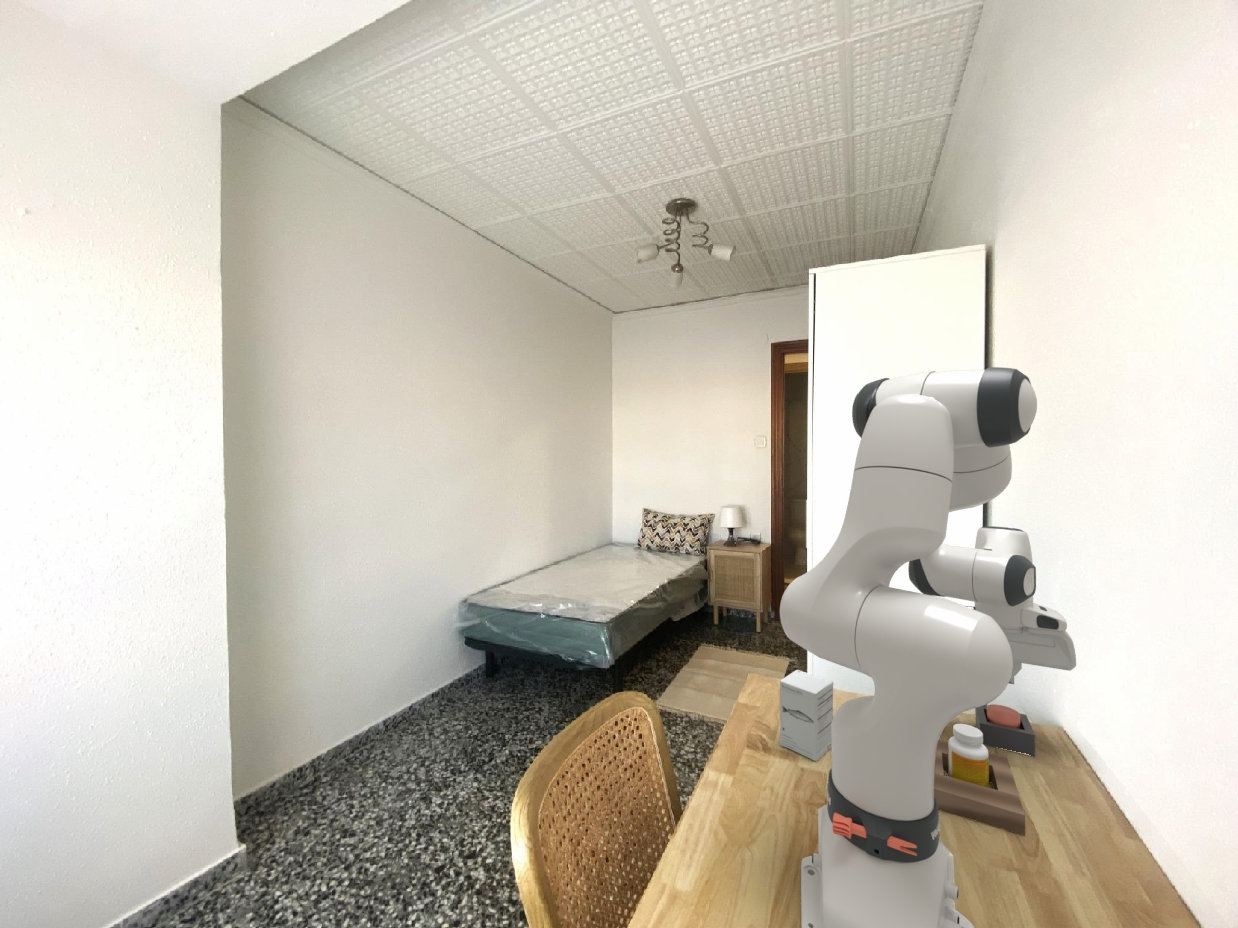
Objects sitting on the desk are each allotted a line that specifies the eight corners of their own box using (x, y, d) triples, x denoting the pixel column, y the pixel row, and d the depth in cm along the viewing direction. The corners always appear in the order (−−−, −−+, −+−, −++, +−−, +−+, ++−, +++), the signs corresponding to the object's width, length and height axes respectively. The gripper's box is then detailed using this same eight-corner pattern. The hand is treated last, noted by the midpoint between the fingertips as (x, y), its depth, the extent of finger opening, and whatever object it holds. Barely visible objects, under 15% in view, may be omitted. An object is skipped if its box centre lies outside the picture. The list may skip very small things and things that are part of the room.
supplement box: (778, 745, 92) (778, 679, 91) (797, 730, 96) (797, 667, 96) (816, 763, 86) (815, 693, 86) (834, 746, 91) (834, 680, 91)
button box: (1035, 757, 87) (1034, 735, 87) (980, 743, 91) (979, 722, 91) (1026, 735, 94) (1026, 714, 94) (975, 723, 98) (975, 704, 98)
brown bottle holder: (1025, 835, 69) (1025, 815, 69) (926, 805, 75) (926, 786, 75) (1007, 772, 83) (1006, 755, 83) (924, 751, 89) (924, 735, 89)
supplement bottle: (996, 802, 76) (995, 740, 76) (958, 797, 77) (957, 737, 77) (978, 779, 81) (977, 722, 81) (942, 776, 82) (942, 719, 82)
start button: (1022, 736, 89) (1022, 720, 89) (988, 729, 92) (988, 713, 91) (1017, 723, 93) (1017, 708, 93) (985, 716, 96) (985, 701, 96)
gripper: (938, 607, 95) (939, 676, 95) (1078, 623, 84) (1079, 701, 84) (937, 598, 100) (938, 664, 101) (1069, 613, 90) (1069, 686, 90)
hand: (1003, 681), depth 92 cm, fingers closed
